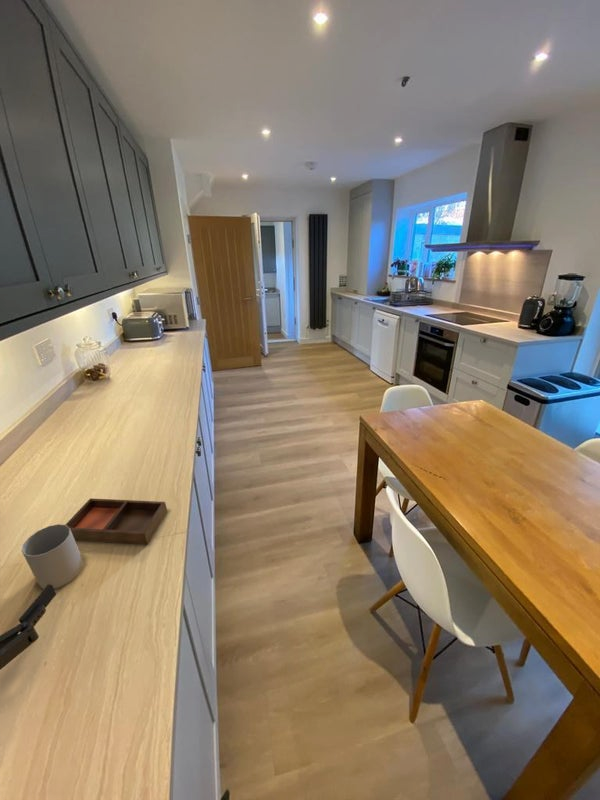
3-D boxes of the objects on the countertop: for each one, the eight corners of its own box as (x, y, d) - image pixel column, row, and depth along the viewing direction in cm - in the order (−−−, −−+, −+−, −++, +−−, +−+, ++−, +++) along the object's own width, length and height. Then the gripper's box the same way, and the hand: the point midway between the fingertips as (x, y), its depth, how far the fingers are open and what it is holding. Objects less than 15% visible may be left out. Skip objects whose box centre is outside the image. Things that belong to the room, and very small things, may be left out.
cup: (55, 594, 68) (39, 561, 63) (29, 582, 70) (11, 549, 66) (91, 561, 75) (79, 529, 71) (66, 551, 77) (53, 520, 73)
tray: (64, 540, 80) (60, 529, 79) (93, 508, 91) (90, 498, 89) (147, 544, 79) (144, 534, 78) (167, 511, 89) (165, 501, 88)
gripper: (-186, 741, 45) (-33, 595, 64) (-20, 759, 44) (86, 603, 63) (-222, 714, 42) (-50, 569, 61) (-45, 732, 40) (74, 577, 60)
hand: (19, 586), depth 62 cm, fingers open, 13 cm apart
